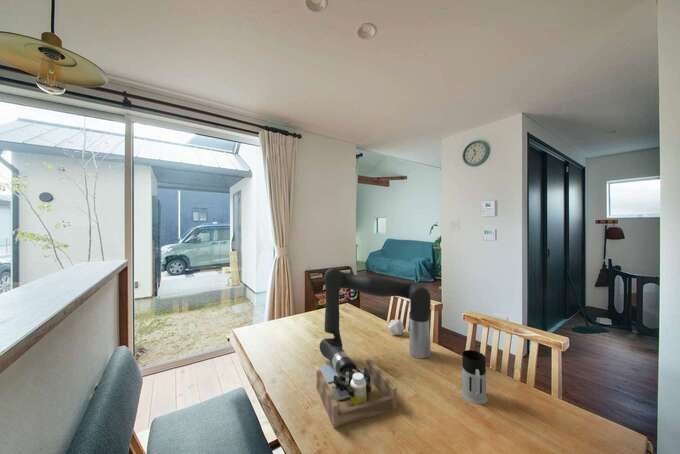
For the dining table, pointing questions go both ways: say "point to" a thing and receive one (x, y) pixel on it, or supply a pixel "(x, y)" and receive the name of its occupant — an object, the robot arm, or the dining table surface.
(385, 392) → the walnut open-topped enclosure
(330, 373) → the pad
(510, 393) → the dining table surface
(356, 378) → the supplement bottle
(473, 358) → the glass holder
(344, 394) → the tray
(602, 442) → the dining table surface
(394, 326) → the die
